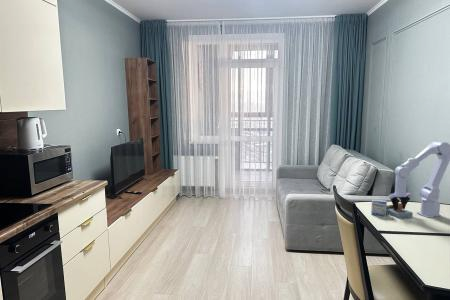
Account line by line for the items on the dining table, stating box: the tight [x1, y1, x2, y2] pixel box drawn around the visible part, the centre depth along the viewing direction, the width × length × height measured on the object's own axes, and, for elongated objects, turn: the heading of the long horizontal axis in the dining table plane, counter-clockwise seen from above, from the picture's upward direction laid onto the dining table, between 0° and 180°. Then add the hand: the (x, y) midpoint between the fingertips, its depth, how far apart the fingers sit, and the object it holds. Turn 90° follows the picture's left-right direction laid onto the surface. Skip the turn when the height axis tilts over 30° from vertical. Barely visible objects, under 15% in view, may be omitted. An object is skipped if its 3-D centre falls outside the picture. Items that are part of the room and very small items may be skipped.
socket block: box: [386, 208, 414, 219], centre depth 190 cm, size 10×10×2 cm
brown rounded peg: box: [396, 202, 402, 212], centre depth 190 cm, size 4×4×6 cm
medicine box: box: [370, 198, 388, 217], centre depth 191 cm, size 8×4×9 cm, turn 68°
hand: (399, 209), depth 190 cm, fingers open, 5 cm apart
